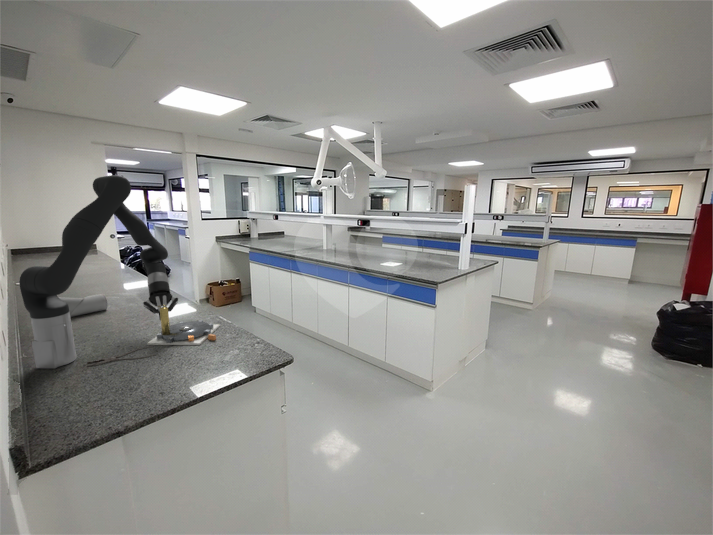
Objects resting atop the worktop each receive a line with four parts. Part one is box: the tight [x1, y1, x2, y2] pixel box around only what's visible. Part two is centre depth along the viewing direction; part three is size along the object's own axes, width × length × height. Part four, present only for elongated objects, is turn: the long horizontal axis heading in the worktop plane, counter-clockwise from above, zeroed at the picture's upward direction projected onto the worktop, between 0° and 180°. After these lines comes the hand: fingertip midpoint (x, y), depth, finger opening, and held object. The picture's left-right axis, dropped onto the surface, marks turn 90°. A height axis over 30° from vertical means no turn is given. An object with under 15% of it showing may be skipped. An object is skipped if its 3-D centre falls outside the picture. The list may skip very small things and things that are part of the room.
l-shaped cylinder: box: [58, 293, 108, 318], centre depth 151 cm, size 18×11×20 cm
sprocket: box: [156, 306, 214, 343], centre depth 128 cm, size 21×21×12 cm
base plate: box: [147, 323, 221, 346], centre depth 129 cm, size 20×24×2 cm
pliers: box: [86, 345, 157, 368], centre depth 108 cm, size 10×1×20 cm
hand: (164, 320), depth 124 cm, fingers closed
